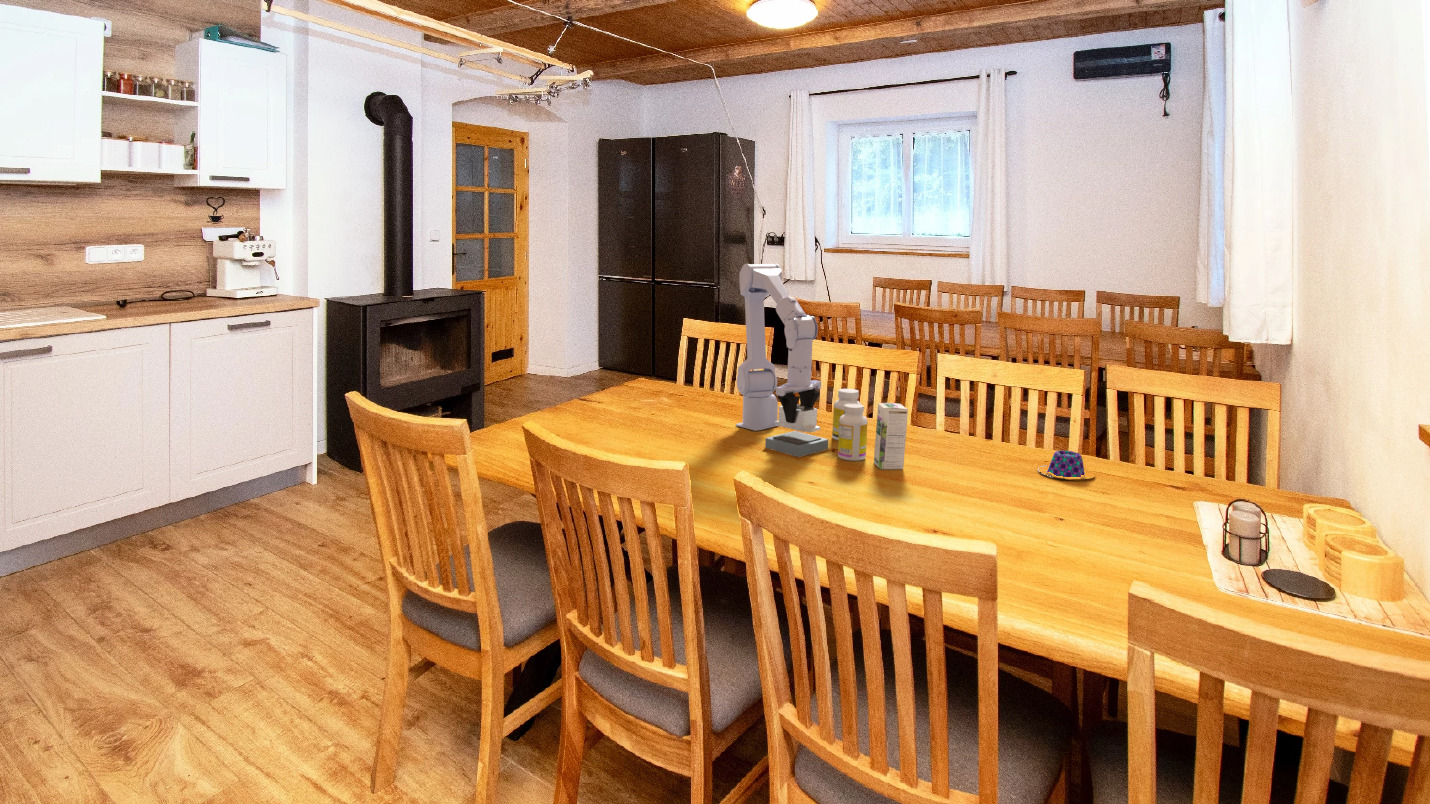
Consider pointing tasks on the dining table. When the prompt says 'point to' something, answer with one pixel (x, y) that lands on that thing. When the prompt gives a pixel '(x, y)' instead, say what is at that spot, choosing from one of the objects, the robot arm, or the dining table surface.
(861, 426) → the supplement bottle
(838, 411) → the supplement bottle
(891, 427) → the syrup box
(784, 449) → the stand
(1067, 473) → the polka-dot brimmed hat
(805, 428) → the housing
